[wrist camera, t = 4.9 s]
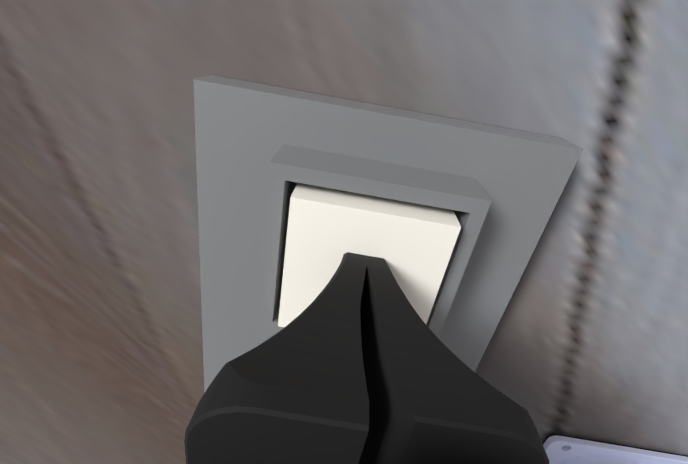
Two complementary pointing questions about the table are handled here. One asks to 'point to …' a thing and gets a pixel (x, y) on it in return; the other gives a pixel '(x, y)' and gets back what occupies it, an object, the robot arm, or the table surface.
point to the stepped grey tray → (365, 178)
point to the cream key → (363, 244)
